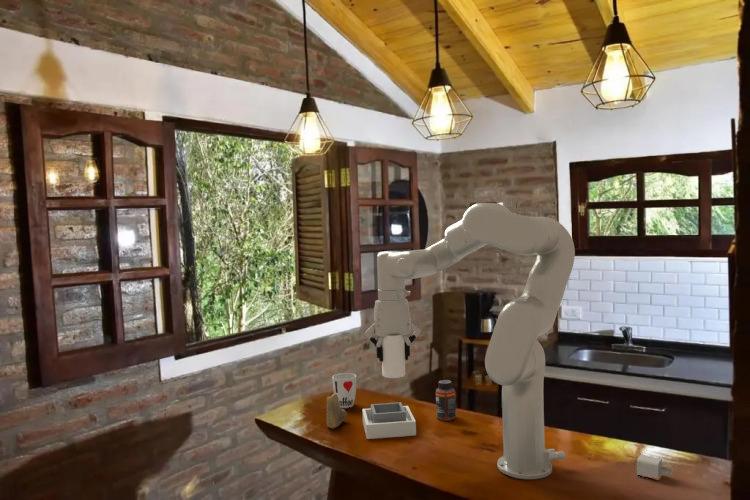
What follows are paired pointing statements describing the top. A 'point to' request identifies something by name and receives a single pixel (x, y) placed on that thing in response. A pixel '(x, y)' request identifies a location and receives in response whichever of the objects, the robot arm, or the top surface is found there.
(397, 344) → the can
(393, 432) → the inlet box
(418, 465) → the top surface
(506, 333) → the robot arm
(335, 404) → the stone
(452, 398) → the supplement bottle
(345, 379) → the cup
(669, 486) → the top surface
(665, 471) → the usb wall charger
